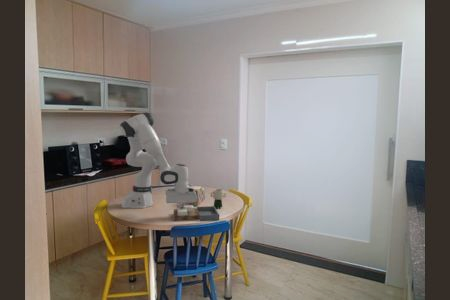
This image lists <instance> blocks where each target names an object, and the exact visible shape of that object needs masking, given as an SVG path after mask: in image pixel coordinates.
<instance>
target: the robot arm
mask: <svg viewBox="0 0 450 300" xmlns="http://www.w3.org/2000/svg"><path fill="white" fill-rule="evenodd" d="M153 125H154V118H153V116H152V115H151V113H149V112H142V113H140V114H137V115H134V116H132V117H130V118H128V119H127V120H124V121H122V122H121V123H120V124H119V130H120V132H121V134H122V135H123V136H124V137H127V140H128V143H129V146H130V151H129V152H128V153H127V154H126V155H125V156H126V157H125V161H126V163H127V165H128V166H131V167H136V168H137V167H138V168H139V167H141V170H140V171H139V172H137V173H136V174H135V180H134V181H135V182H134V183H135V184H133V185H132V191H130V193H128V194H127V195H126V196H125V198H124V201H123V202H122V203H121V208H122V209H124V208H125V209H145V208H147V207H151V206H153V205H154V202H153V196H152V192H153V187H152V175H153V172H154V170H155V169H156V168H157V167H159V170H160V176H159V178H160V181H161V183H163V184H164V185H172V184H174V188H168V189H166V190H165V196H166V197H165V202H166V204H177V206H178V209H184V206H186V204H187V203H189V204H190V202H196V201H197V195H196V192H195V188H194V186H193V185H189V181H188V180H189V168H188V166H187V165H186V164H183V163H176V164H174V165H173V166H171V165H170V164H169V163H168V160H167V158H166V157H165V154H164V152H163V147H162V143H161V140H160V138H159V137H158V134H157V133H156V131H155V129H154V128H153ZM143 150H144V151H143ZM180 204H182V205H180Z"/></svg>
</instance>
